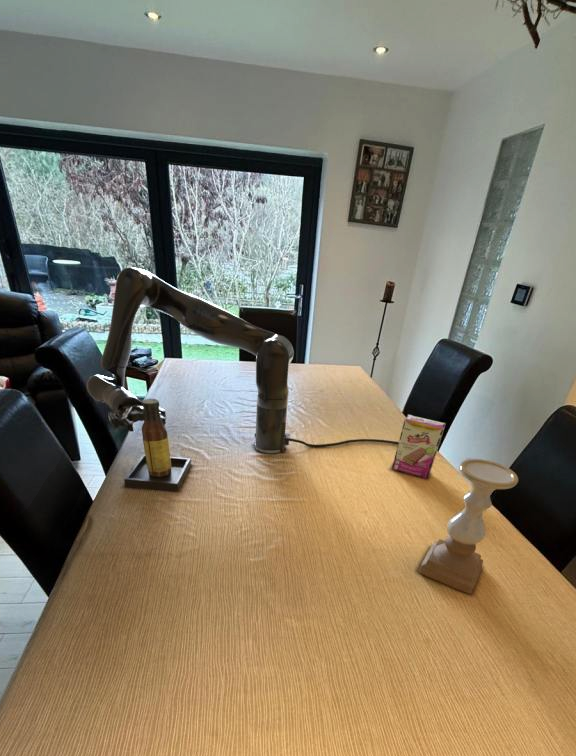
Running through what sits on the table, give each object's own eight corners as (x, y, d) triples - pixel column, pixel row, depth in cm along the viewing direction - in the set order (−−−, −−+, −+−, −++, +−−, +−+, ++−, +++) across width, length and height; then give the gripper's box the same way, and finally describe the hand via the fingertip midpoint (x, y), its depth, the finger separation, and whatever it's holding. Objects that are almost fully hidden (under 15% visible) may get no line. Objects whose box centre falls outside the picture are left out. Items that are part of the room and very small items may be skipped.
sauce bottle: (176, 470, 114) (170, 399, 103) (163, 480, 109) (156, 407, 98) (155, 465, 115) (148, 395, 104) (142, 475, 110) (132, 402, 99)
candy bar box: (391, 470, 126) (403, 418, 117) (394, 463, 130) (407, 413, 121) (428, 480, 123) (444, 428, 114) (430, 473, 127) (446, 422, 118)
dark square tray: (191, 465, 119) (190, 458, 117) (178, 491, 106) (177, 483, 105) (143, 461, 118) (142, 454, 117) (125, 486, 106) (123, 479, 105)
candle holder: (471, 595, 83) (517, 492, 70) (417, 572, 87) (451, 472, 74) (481, 566, 91) (524, 469, 78) (432, 546, 95) (465, 452, 82)
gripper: (97, 395, 112) (118, 415, 102) (148, 389, 120) (172, 407, 110) (101, 422, 116) (122, 443, 106) (150, 414, 124) (174, 433, 114)
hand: (148, 425), depth 108 cm, fingers open, 8 cm apart
